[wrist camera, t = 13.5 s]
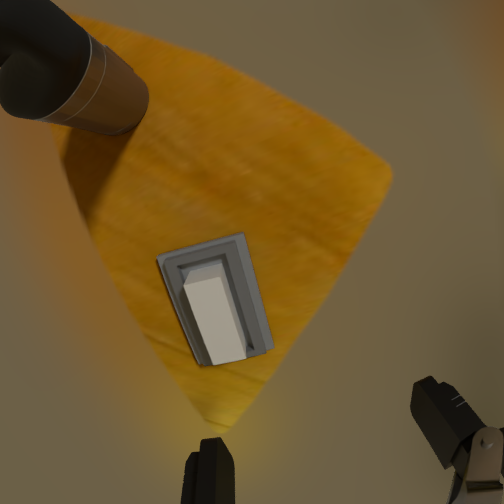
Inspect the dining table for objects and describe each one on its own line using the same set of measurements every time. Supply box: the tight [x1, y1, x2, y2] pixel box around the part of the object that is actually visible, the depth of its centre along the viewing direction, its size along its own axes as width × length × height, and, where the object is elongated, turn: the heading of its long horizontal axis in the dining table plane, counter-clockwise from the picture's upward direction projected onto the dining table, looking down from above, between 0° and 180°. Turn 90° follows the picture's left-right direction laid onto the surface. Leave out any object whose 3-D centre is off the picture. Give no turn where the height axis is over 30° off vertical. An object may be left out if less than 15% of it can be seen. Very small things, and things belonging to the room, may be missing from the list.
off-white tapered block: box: [183, 263, 246, 365], centre depth 37 cm, size 4×12×5 cm, turn 14°
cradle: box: [157, 232, 274, 366], centre depth 39 cm, size 12×18×2 cm, turn 14°
